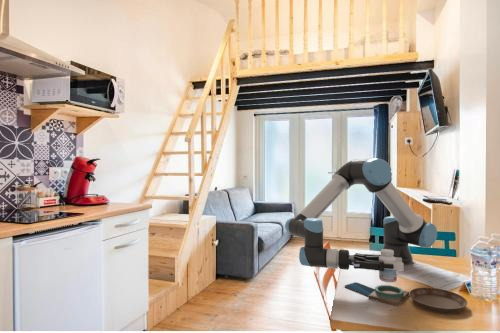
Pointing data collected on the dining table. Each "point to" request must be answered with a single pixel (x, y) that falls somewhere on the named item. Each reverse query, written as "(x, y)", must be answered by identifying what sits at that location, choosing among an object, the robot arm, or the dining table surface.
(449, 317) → the dining table surface
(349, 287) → the smartphone
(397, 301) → the holder board
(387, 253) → the pill bottle
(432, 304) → the plant saucer
